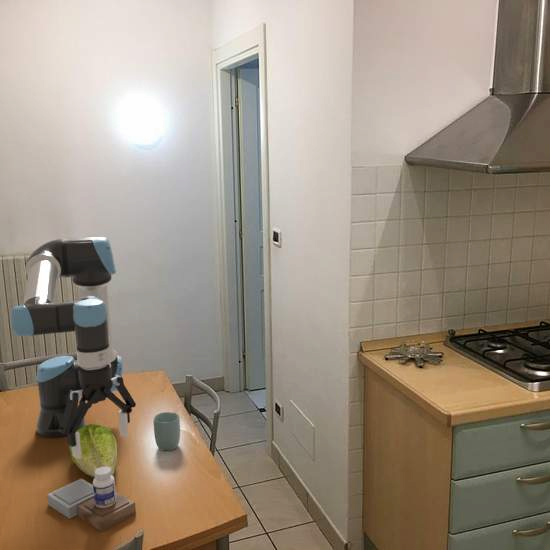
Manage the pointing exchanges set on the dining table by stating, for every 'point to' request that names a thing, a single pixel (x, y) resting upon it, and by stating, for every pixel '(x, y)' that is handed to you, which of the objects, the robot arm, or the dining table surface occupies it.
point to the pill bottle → (104, 488)
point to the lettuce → (96, 449)
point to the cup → (167, 430)
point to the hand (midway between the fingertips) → (101, 446)
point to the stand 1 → (71, 497)
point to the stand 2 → (107, 512)
